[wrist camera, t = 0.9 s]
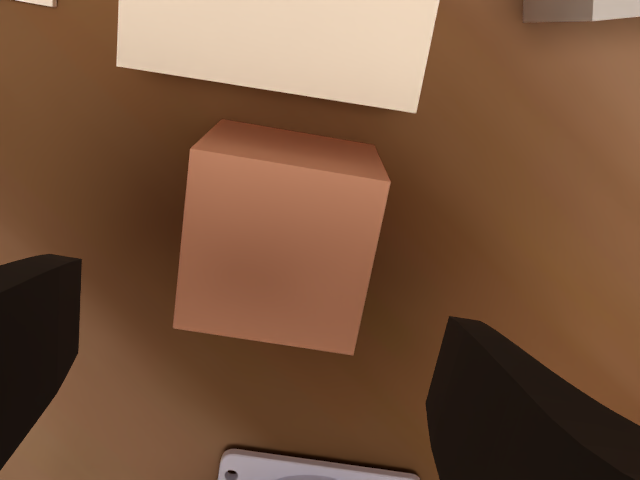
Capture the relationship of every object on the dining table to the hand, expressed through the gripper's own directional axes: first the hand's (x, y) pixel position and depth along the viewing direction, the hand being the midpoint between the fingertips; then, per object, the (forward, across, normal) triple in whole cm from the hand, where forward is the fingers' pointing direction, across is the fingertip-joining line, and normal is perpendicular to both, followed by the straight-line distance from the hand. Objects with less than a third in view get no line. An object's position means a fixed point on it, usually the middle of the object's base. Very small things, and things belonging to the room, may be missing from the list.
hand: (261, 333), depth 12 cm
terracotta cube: (+9, 0, 0) cm, 9 cm away
